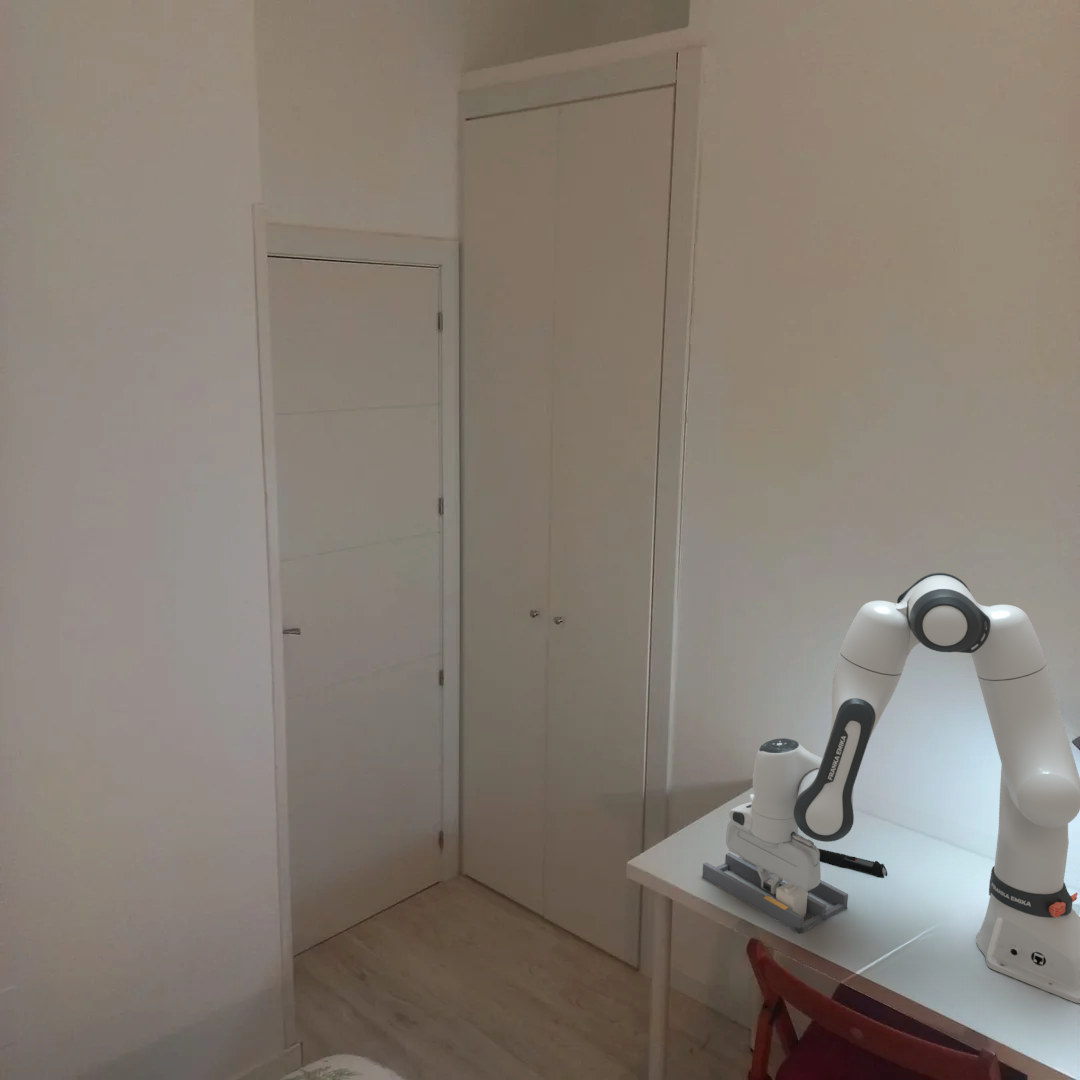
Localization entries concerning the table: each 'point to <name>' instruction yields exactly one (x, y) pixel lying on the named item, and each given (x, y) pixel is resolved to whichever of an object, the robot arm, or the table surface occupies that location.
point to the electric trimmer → (852, 863)
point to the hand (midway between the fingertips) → (769, 890)
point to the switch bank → (770, 904)
